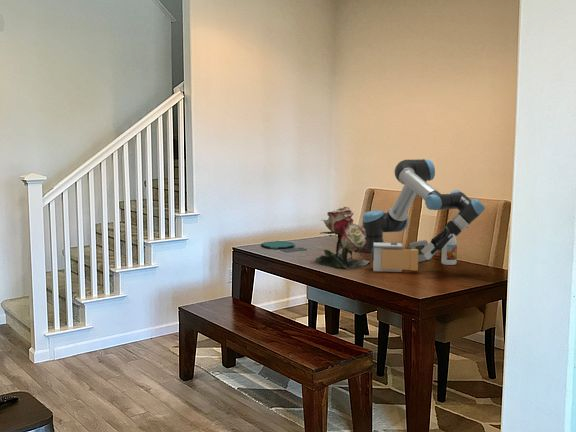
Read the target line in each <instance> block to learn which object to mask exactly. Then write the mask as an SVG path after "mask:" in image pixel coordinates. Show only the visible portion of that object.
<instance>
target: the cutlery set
mask: <svg viewBox="0 0 576 432" xmlns="http://www.w3.org/2000/svg"><path fill="white" fill-rule="evenodd" d="M260 246H261V247H264V248H270V249H272V250H277V249H280V250H279V251H280V252H285V253H295V252H303V251H308V250H307V248H304V247H301V246H300V247H296V244H295V243H294V242H290V241H287V240H286V241H285V240H275V241H273V240H272V241H264V242H262V243H261V244H260ZM290 249H291V250H290Z"/></svg>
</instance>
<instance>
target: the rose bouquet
mask: <svg viewBox="0 0 576 432" xmlns="http://www.w3.org/2000/svg"><path fill="white" fill-rule="evenodd" d="M352 211H353V210H351V209H350V207H349V206H344V207H339V208H338V209H336V210H333V211H328V212H327V216H328V219H322V221H323V223H324V224H325V226H326V228H327V229H328V230H329V231H323V232H322V231H321V232H319V234H320V235H321V234H325V235H326V234H327V235H328V236H329V237H333V235H335V236H337V242H336V244H335V245H336V246H335V252H336V253H333V252H331V250H329V249H326V248H325V249H323V254H322V255H320V256H318V257H316V258H315V260H314V261H313V263H314V264H315V265H316V264H318V265H321V266H327V267H335V268H340V269H346V270H349V269H356V267H365V266H367V265H368V264H369V263H371V260H366V259H362V260H359V259H358V260H357V259H356V260H355V259H354V258H353V252H354V253H355V254H356V253H358V254H359V256H360V257H363V256H364V255H363V254H366V253H368V252H367V249H365V248H366V247H365V248H364V245H365V244H367V242H366V239H365V238H366V232H365V231H366V230H365V229H364V228H363V225H359V224H356V223H354V219H353V218H352V216H353V215H354V214H355V213H354V212H352ZM341 249H342V250H341ZM340 250H341V253H340V252H339V251H340ZM348 254H350V257H349V258H348Z"/></svg>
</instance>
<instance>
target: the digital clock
mask: <svg viewBox="0 0 576 432" xmlns="http://www.w3.org/2000/svg"><path fill="white" fill-rule="evenodd" d="M428 244H429V242H428V240H426V239H425V240H418V241H413V242H410V243H408V249H409V250H411V249H418V264H419V263H423V262H426V260H428V259H427V258H426V257H425V256H424V255H425V254H424V253H423V252H422V251H421V250H422V249H423V248H424V247H425V246H426V245H428ZM429 251H430V250H429ZM432 257H433V256H432ZM432 257H431V258H430V259H429V260H428V261H430V260H432ZM422 261H423V262H422Z"/></svg>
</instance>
